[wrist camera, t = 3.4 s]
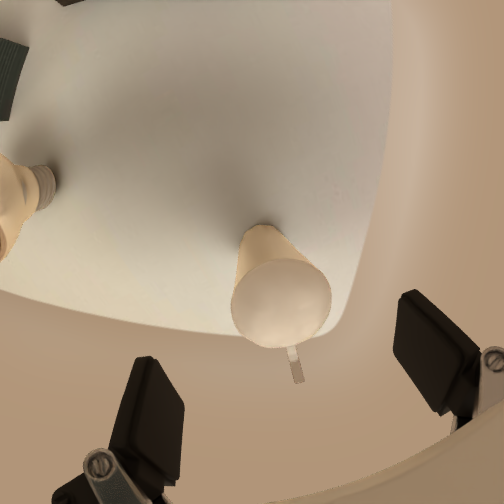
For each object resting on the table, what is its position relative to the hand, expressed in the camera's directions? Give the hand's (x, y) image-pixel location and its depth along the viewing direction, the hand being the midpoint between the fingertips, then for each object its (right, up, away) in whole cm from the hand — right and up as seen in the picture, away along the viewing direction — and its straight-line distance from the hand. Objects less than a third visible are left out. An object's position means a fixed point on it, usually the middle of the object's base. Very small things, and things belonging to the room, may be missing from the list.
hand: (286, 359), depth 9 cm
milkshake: (0, +4, +10) cm, 11 cm away
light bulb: (-17, +9, +7) cm, 21 cm away
